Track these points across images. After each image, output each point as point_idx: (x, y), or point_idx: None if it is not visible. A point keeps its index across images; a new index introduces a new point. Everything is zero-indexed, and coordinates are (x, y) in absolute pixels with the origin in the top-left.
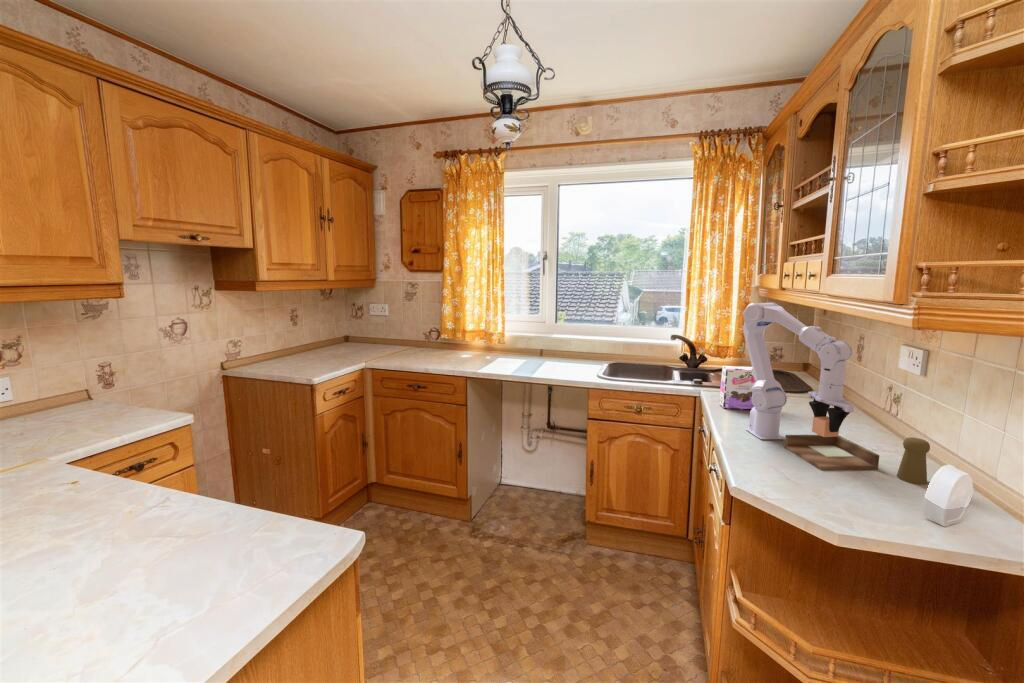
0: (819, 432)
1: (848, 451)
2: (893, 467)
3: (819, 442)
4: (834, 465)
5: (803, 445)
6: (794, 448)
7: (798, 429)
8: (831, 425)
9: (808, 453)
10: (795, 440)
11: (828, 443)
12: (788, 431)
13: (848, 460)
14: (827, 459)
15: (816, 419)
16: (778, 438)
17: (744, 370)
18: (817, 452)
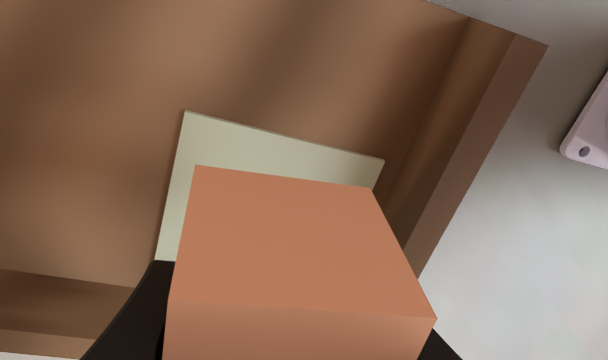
0: (267, 189)
1: None
2: (32, 356)
3: None
4: (13, 11)
5: (410, 143)
6: (404, 22)
7: (582, 335)
8: (116, 314)
9: (285, 37)
10: (457, 94)
11: None
12: (604, 274)
13: (103, 200)
14: (144, 74)
15: (365, 299)
16: (589, 108)
17: None
18: (278, 124)
